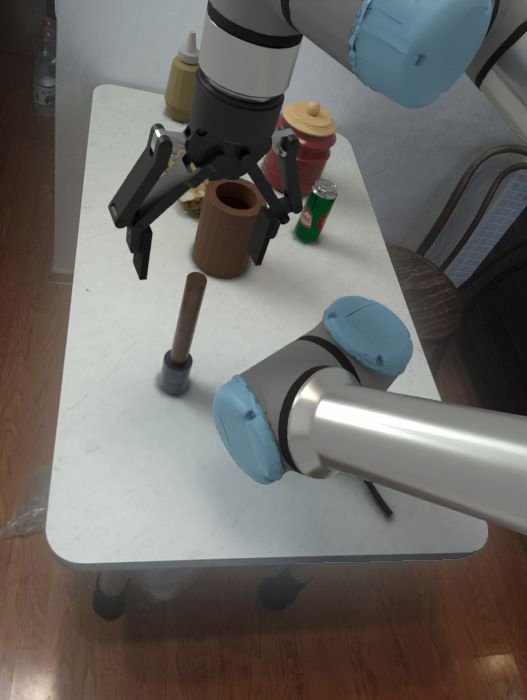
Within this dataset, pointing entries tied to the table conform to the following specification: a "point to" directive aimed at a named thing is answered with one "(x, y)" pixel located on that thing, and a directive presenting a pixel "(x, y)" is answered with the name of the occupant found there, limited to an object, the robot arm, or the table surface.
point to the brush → (183, 337)
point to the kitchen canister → (304, 143)
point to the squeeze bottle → (182, 80)
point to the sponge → (190, 191)
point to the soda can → (316, 210)
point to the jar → (226, 227)
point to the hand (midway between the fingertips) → (199, 264)
